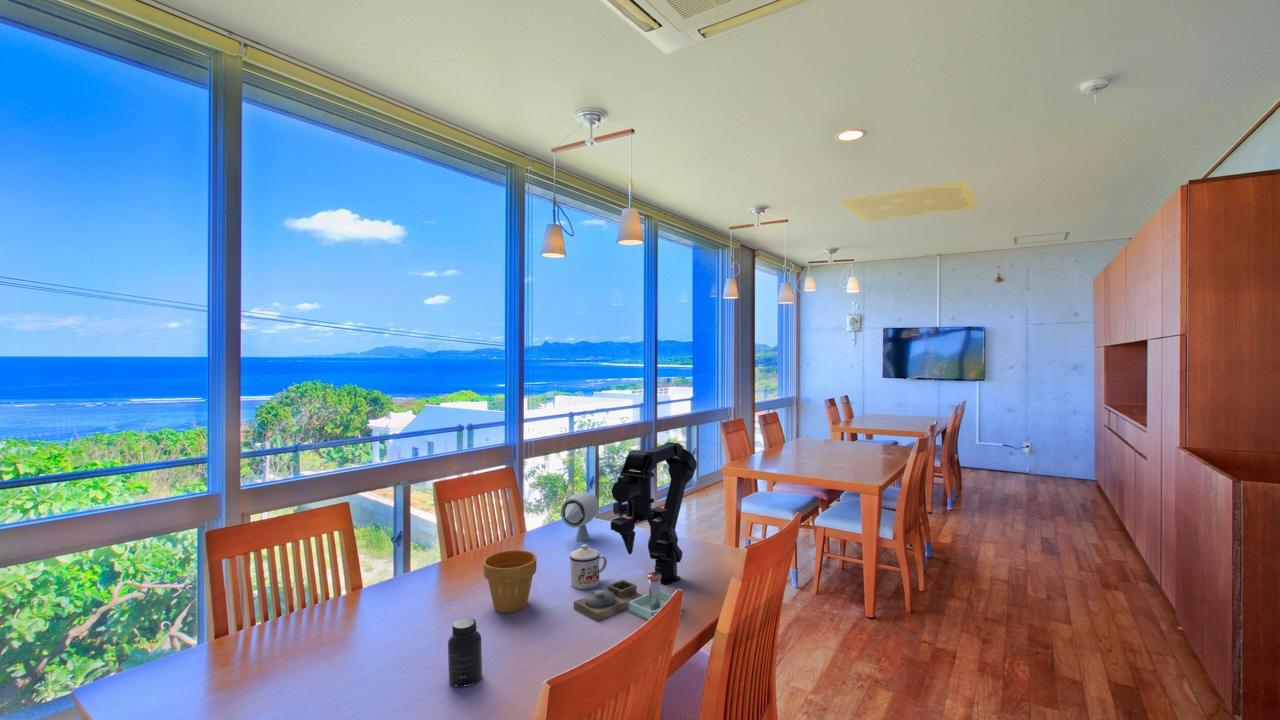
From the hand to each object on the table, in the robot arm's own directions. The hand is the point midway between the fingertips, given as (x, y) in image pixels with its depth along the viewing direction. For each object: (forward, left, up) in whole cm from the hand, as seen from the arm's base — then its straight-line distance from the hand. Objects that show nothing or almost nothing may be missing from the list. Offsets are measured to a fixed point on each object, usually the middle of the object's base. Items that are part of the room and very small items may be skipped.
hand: (641, 549), depth 157 cm
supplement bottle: (+55, +3, -13) cm, 57 cm away
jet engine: (-16, -51, -13) cm, 55 cm away
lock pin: (+4, +9, -12) cm, 16 cm away
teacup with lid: (+5, -18, -13) cm, 23 cm away
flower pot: (+30, -21, -13) cm, 39 cm away
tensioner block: (+11, -2, -13) cm, 17 cm away
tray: (+4, +9, -13) cm, 16 cm away
